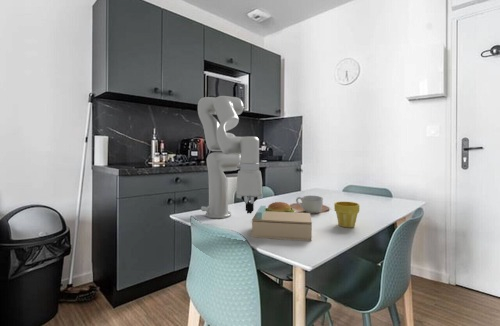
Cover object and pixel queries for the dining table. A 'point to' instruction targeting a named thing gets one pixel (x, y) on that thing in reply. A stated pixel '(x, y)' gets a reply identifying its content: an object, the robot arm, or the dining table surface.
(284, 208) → the food
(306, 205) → the teacup
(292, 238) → the box
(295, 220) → the lid
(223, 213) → the robot arm
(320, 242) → the dining table surface
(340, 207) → the plant pot
